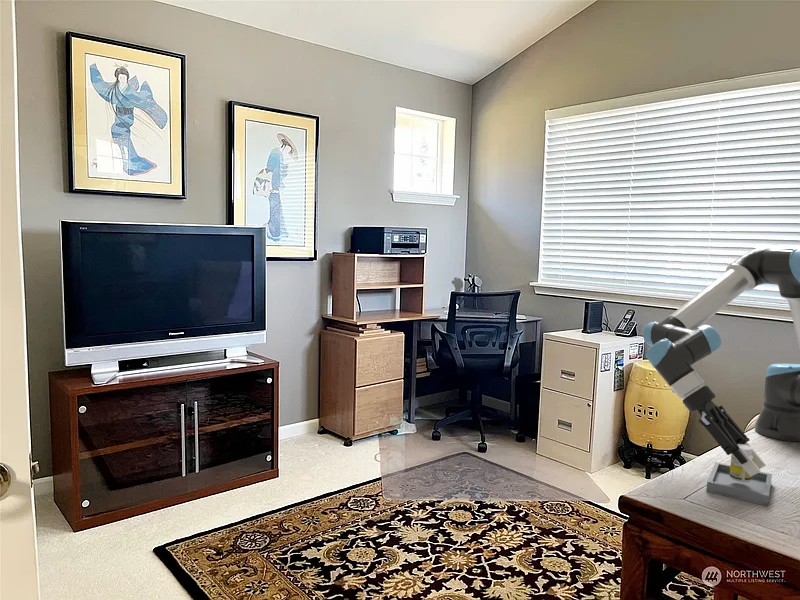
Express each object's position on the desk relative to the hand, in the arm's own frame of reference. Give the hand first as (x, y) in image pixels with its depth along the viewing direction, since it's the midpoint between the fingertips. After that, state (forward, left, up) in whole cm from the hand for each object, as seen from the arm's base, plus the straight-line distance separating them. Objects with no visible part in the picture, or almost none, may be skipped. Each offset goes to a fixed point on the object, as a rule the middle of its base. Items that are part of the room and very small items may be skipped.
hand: (758, 470), depth 147 cm
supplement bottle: (+3, -2, -3) cm, 5 cm away
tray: (+3, -2, -5) cm, 7 cm away
